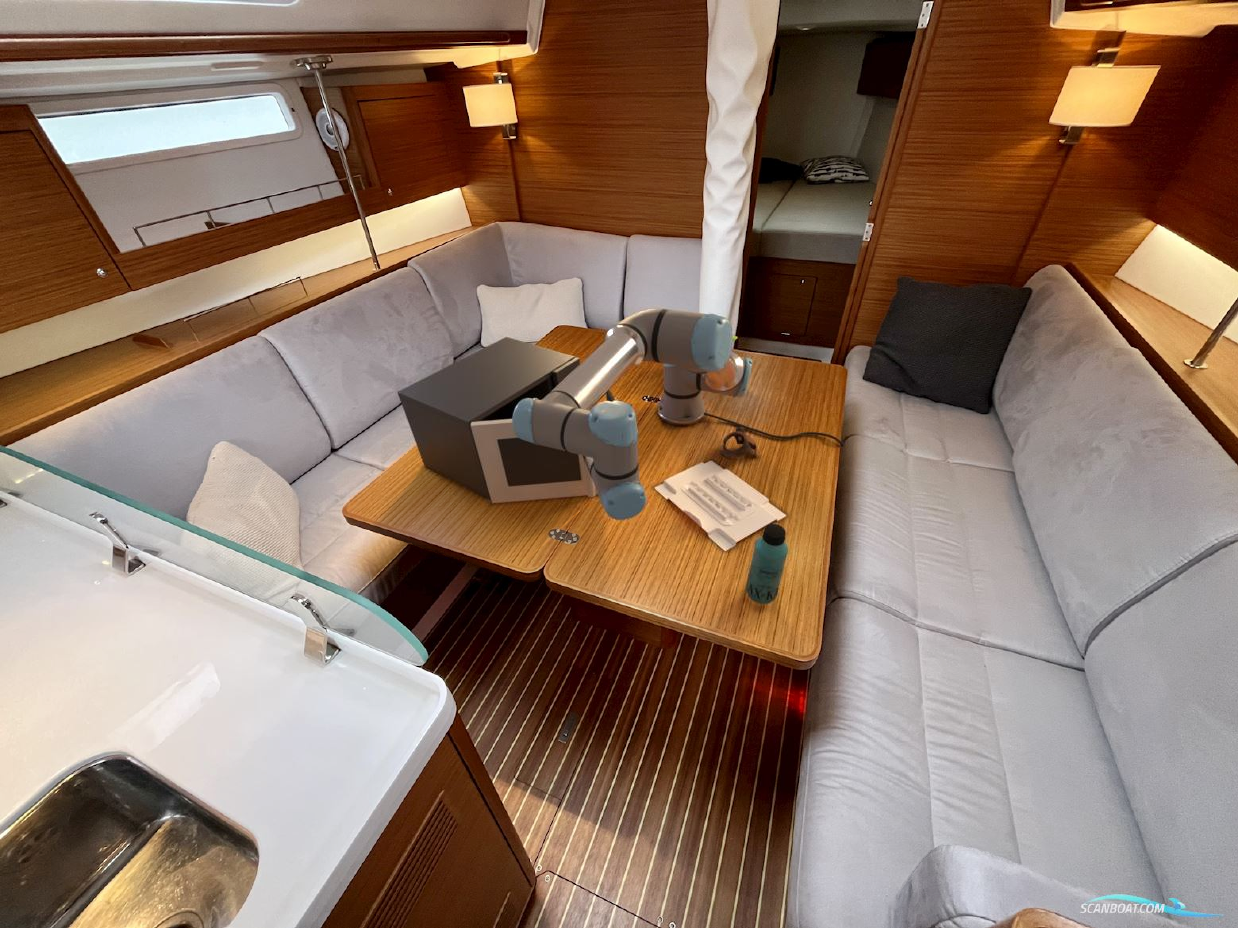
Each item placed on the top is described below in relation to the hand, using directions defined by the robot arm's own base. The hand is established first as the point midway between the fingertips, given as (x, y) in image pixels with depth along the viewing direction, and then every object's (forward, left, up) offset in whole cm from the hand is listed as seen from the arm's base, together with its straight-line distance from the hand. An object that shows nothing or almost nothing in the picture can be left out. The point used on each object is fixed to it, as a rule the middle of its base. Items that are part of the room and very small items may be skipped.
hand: (578, 400), depth 110 cm
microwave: (+37, -7, -31) cm, 49 cm away
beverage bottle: (-48, +3, -32) cm, 58 cm away
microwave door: (+9, +6, -31) cm, 33 cm away
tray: (-27, -19, -32) cm, 46 cm away
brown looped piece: (-23, -41, -32) cm, 57 cm away
